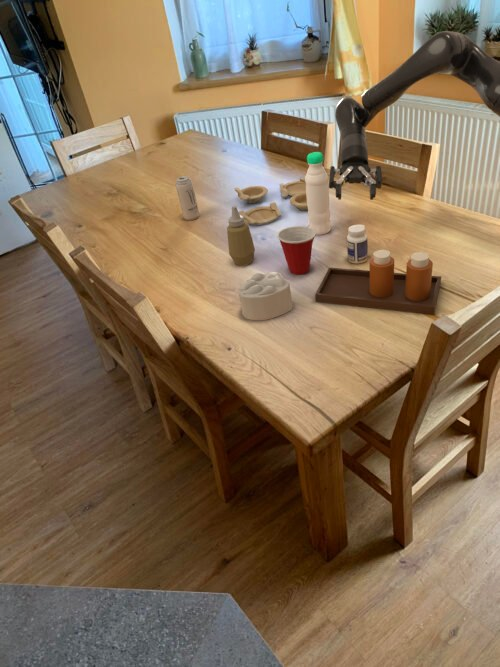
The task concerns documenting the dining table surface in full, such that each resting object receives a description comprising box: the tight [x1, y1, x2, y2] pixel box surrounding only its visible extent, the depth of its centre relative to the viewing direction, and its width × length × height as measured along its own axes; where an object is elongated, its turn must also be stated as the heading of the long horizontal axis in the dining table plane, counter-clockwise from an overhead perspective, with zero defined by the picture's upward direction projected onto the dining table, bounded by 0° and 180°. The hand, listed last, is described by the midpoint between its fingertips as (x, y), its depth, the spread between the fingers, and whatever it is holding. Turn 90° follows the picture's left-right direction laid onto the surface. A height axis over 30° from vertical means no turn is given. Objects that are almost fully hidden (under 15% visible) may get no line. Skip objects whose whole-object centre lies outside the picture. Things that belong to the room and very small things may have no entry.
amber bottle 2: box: [405, 251, 434, 301], centre depth 122 cm, size 6×6×11 cm
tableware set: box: [234, 177, 308, 226], centre depth 182 cm, size 35×29×4 cm
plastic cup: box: [276, 225, 317, 276], centre depth 141 cm, size 11×11×12 cm
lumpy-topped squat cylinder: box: [238, 271, 293, 321], centre depth 129 cm, size 10×13×9 cm
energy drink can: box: [175, 175, 200, 221], centre depth 180 cm, size 6×6×15 cm
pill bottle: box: [346, 224, 369, 264], centre depth 141 cm, size 6×6×10 cm
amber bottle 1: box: [369, 249, 395, 297], centre depth 126 cm, size 6×6×11 cm
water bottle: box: [304, 151, 332, 236], centre depth 154 cm, size 7×7×25 cm
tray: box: [314, 267, 442, 316], centre depth 129 cm, size 30×14×2 cm, turn 67°
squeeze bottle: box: [226, 205, 256, 266], centre depth 148 cm, size 8×8×18 cm
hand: (355, 197), depth 133 cm, fingers open, 8 cm apart
